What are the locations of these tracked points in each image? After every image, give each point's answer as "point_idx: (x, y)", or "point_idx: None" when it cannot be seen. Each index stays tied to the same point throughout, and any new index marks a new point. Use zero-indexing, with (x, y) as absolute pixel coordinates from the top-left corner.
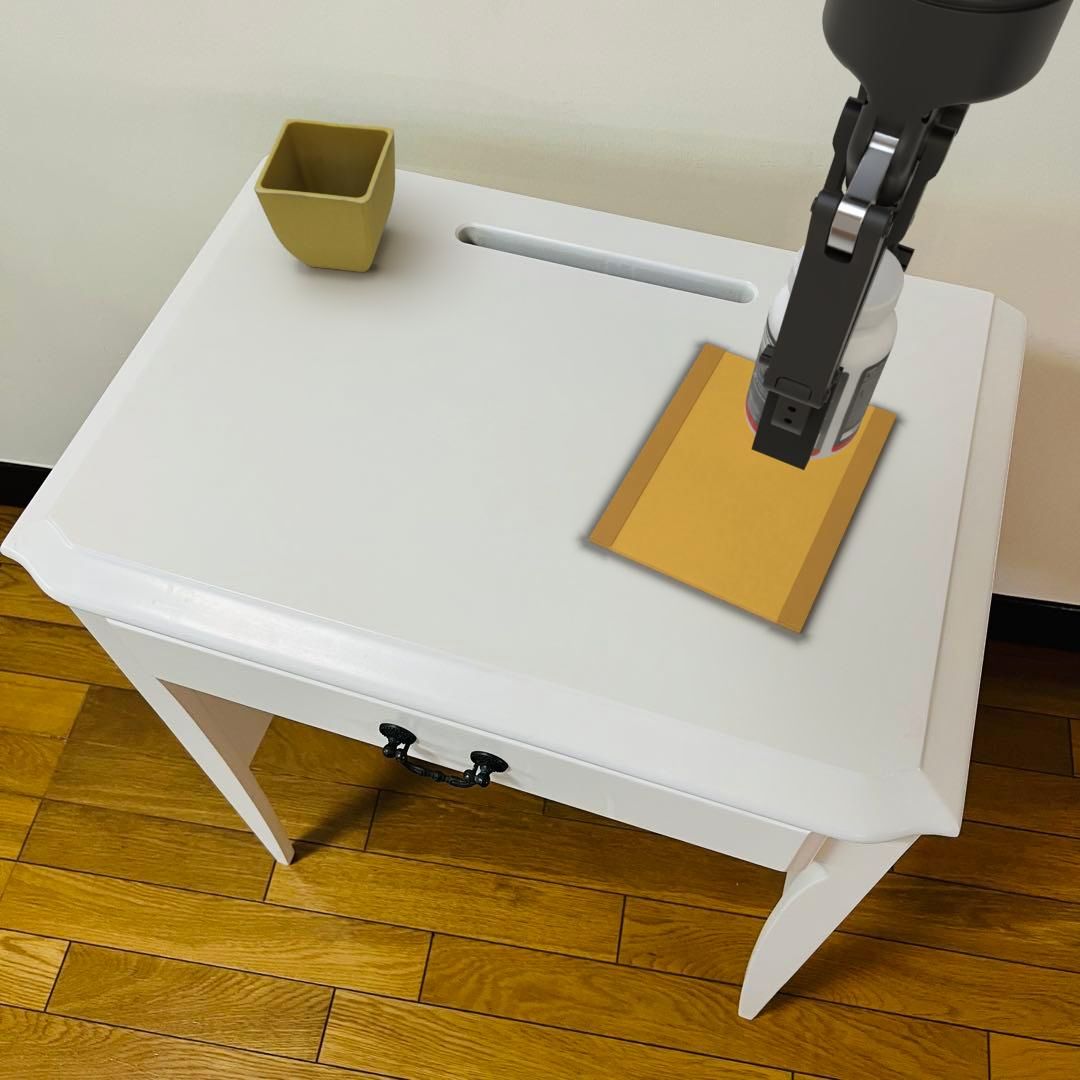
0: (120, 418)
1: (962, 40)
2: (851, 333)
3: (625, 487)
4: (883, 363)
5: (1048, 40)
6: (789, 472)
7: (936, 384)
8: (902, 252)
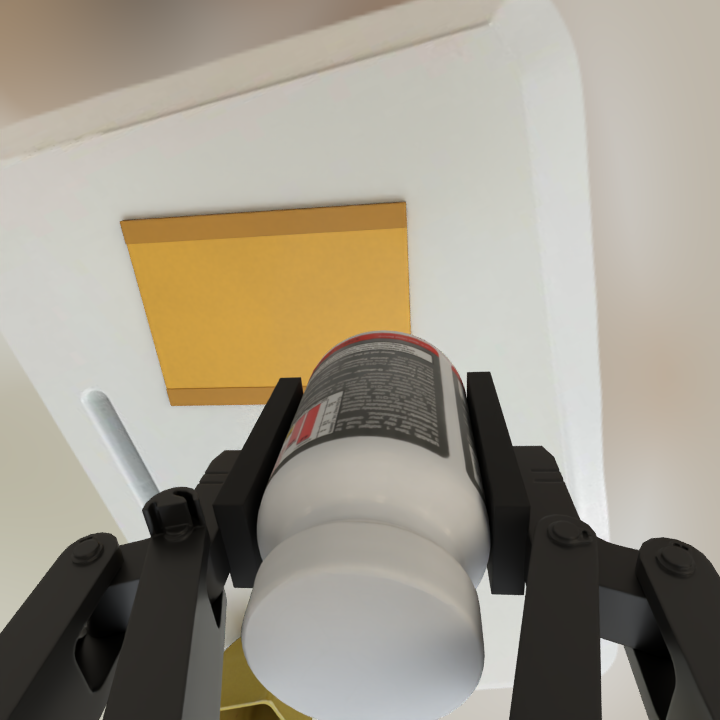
0: (484, 680)
1: None
2: (575, 631)
3: None
4: (391, 423)
5: None
6: (249, 285)
7: (54, 199)
8: (164, 522)
